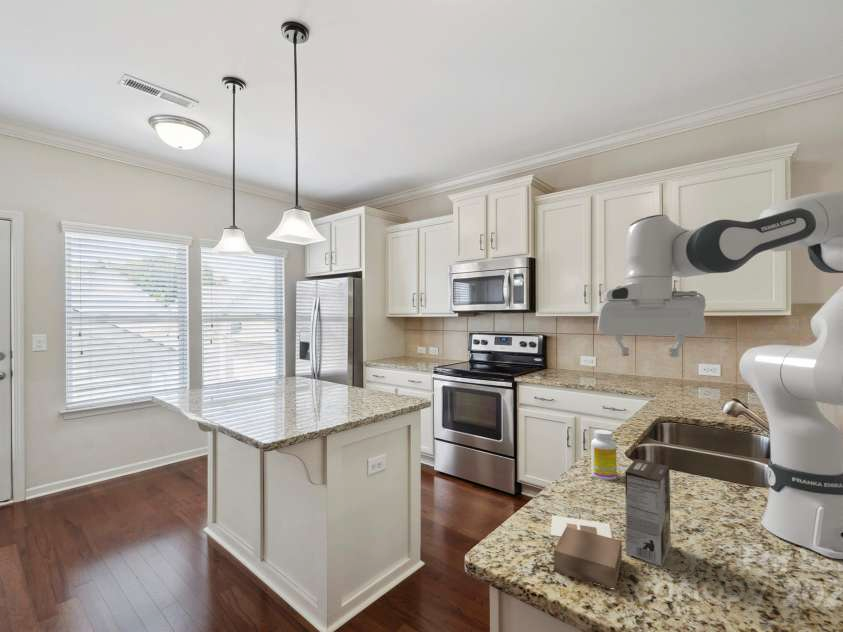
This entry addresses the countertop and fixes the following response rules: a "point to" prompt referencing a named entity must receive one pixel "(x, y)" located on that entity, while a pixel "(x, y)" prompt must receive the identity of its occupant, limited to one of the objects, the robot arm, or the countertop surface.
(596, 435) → the supplement bottle
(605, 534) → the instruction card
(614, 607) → the countertop surface
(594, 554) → the base block
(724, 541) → the countertop surface
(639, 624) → the countertop surface
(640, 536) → the coffee box
